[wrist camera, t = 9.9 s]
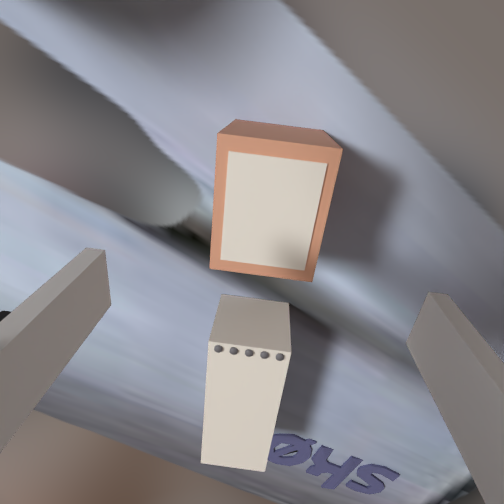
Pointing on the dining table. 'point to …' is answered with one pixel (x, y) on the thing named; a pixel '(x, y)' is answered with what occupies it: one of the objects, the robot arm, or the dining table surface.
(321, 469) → the signage
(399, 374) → the dining table surface
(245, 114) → the dining table surface
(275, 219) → the tan box
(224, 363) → the pad
